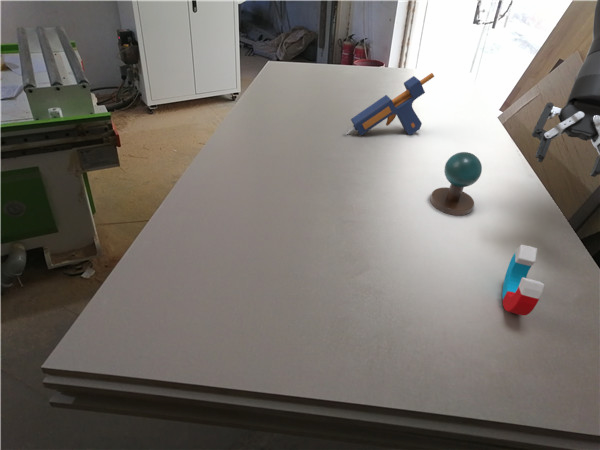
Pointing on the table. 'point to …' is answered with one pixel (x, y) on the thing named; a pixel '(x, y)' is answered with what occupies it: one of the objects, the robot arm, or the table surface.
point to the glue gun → (393, 109)
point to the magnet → (521, 283)
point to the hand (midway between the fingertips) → (566, 167)
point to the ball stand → (457, 184)
